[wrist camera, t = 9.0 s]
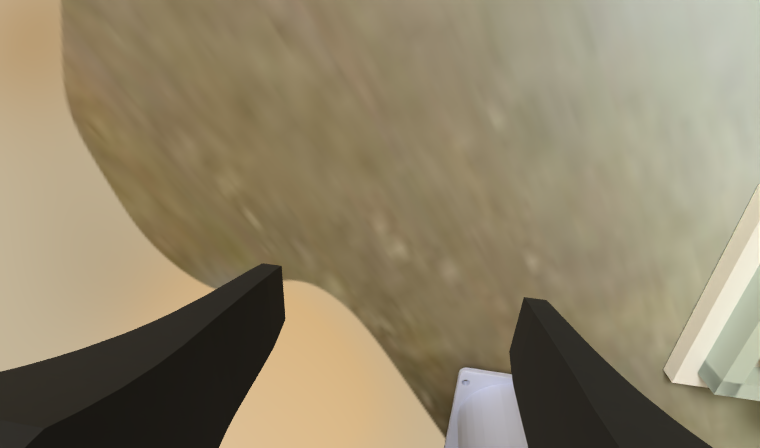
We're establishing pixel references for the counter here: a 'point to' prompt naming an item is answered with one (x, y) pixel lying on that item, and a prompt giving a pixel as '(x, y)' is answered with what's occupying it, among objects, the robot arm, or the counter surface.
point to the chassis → (726, 320)
